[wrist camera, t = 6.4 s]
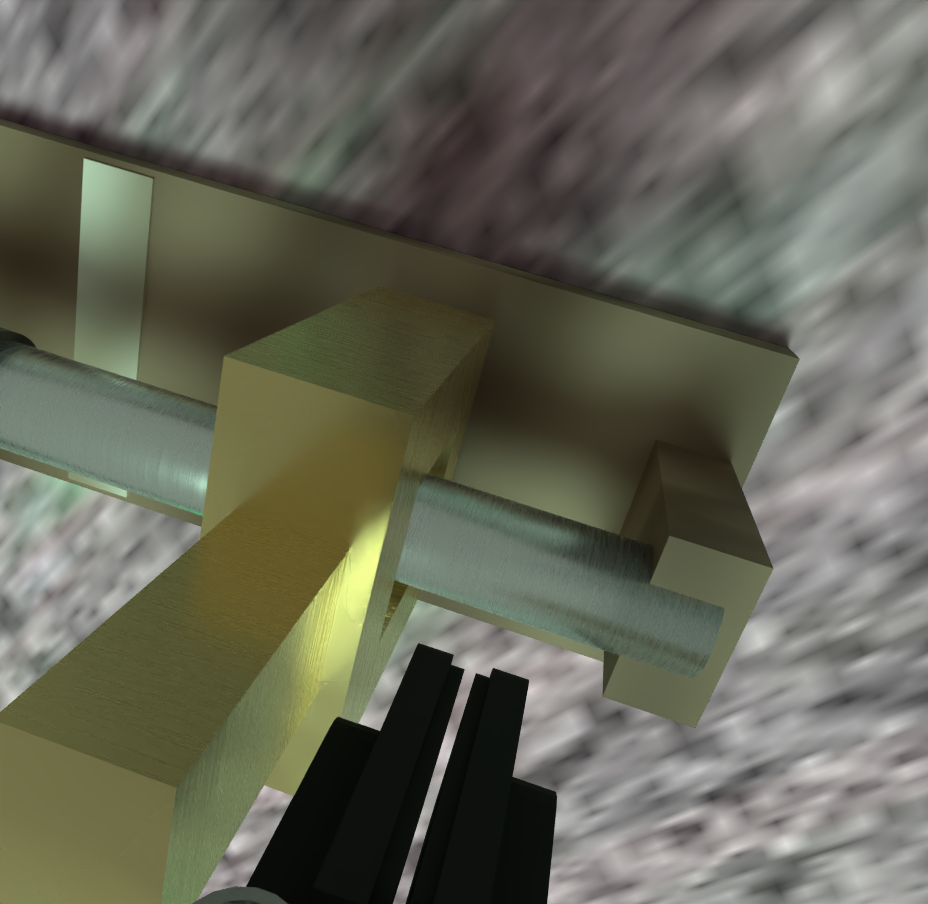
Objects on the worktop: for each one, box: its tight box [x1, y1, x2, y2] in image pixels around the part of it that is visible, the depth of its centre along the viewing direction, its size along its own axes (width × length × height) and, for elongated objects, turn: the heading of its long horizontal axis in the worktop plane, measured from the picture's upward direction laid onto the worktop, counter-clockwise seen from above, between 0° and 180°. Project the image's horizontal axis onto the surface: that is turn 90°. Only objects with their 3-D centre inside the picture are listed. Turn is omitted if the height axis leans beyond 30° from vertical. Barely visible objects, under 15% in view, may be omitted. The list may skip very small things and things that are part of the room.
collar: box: [0, 286, 496, 904], centre depth 14 cm, size 3×8×13 cm, turn 165°
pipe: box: [0, 327, 725, 679], centre depth 16 cm, size 24×3×3 cm, turn 75°
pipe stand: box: [0, 119, 799, 728], centre depth 19 cm, size 26×10×7 cm, turn 75°
